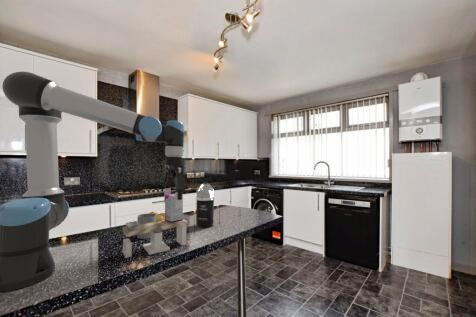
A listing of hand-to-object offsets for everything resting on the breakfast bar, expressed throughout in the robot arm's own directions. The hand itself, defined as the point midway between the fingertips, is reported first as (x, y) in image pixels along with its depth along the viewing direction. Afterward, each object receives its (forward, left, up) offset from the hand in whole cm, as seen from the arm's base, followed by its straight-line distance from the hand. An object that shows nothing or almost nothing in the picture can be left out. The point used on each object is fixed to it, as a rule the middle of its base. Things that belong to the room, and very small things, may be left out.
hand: (172, 205), depth 96 cm
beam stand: (-7, 0, -17) cm, 19 cm away
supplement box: (+1, 0, -7) cm, 7 cm away
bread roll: (+6, +33, -18) cm, 38 cm away
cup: (-6, +19, -18) cm, 26 cm away
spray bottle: (+26, +19, -18) cm, 37 cm away
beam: (-7, 0, -9) cm, 11 cm away
